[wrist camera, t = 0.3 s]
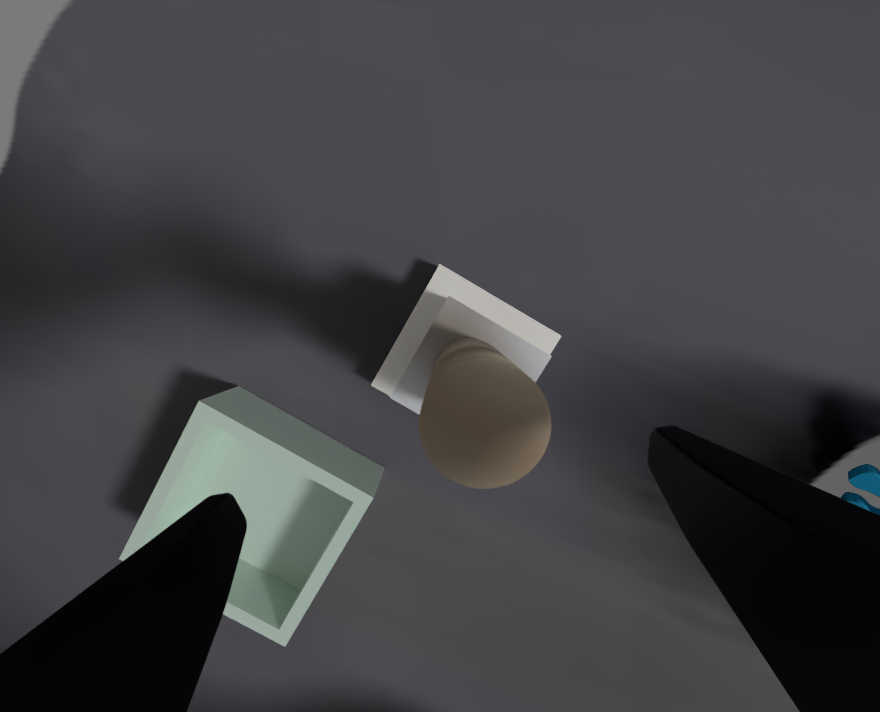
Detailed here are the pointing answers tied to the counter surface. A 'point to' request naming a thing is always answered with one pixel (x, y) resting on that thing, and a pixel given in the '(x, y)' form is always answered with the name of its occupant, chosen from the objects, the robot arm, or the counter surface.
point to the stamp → (477, 399)
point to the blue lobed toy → (864, 485)
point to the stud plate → (429, 308)
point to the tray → (265, 502)
